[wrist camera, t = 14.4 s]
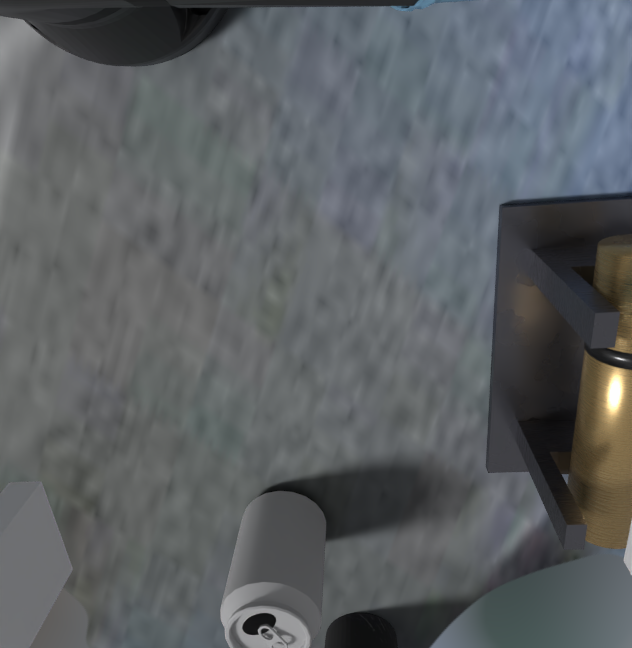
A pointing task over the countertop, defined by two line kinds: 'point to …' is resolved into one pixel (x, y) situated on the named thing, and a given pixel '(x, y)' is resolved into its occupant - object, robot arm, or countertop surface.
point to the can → (276, 574)
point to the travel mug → (360, 632)
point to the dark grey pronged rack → (547, 341)
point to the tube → (606, 410)
